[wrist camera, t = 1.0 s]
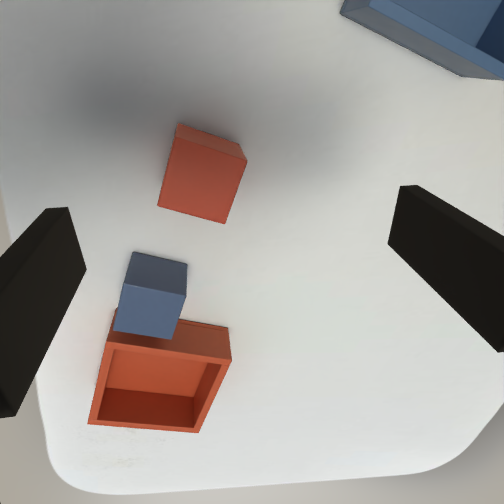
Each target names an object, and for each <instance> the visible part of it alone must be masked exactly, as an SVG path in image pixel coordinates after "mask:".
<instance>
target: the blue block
mask: <svg viewBox="0 0 504 504" xmlns="http://www.w3.org/2000/svg"><path fill="white" fill-rule="evenodd" d="M186 288H187V264H184V263H180V262H175V261H171V260H167V259H162V258H158V257H153V256H149V255H145V254H140V253H136V252H133V253H132V256H131V260H130V263H129V266H128V270H127V273H126V276H125V280H124V283H123V287H122V291H121V295H120V300H119V304H118V308H117V313H116V317H115V321H114V325H113V330H114V331H120V332H126V333H132V334H139V335H145V336H151V337H158V338H164V339H170V340H171V339H172V337H173V334H174V331H175V328H176V325H177V322H178V319H179V316H180V313H181V310H182V307H183V304H184V301H185V298H186Z"/></svg>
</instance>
